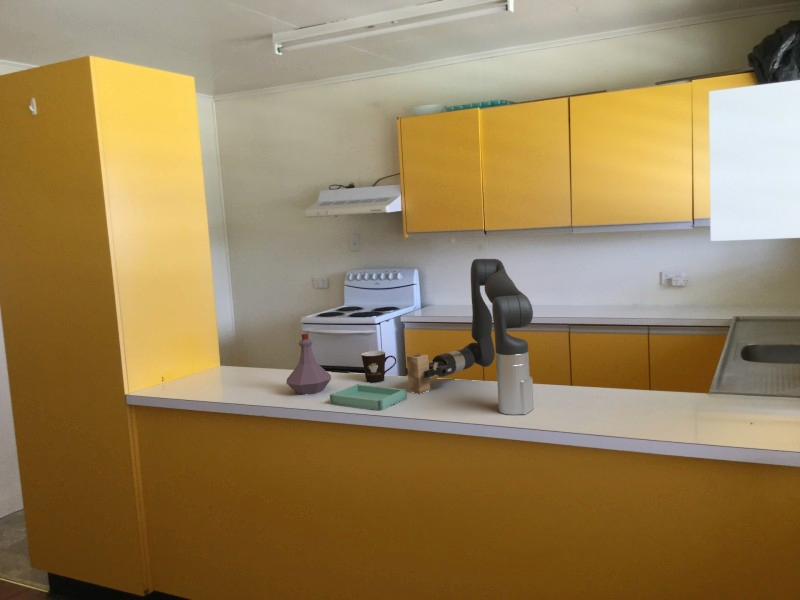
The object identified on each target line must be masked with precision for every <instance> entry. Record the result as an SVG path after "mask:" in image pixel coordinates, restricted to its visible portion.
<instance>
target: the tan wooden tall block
mask: <svg viewBox="0 0 800 600" xmlns="http://www.w3.org/2000/svg"><path fill="white" fill-rule="evenodd" d="M429 361H430V360H429V354H424V353H423V354H420V353H415V354H412V355H411V354H410V355H407V356H406V363H407V364H406V366H407V367H406V368H408V375H407V380H408V392H409V393H411V392H414V393H413V394H416V393H419V394H418V395H421V394H420V393H422V394H424V393H423V392H426V391H428V390H431V380H430V379H431V378H430V377H428V378H424V371H426V370H429ZM426 393H427V392H426Z"/></svg>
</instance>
